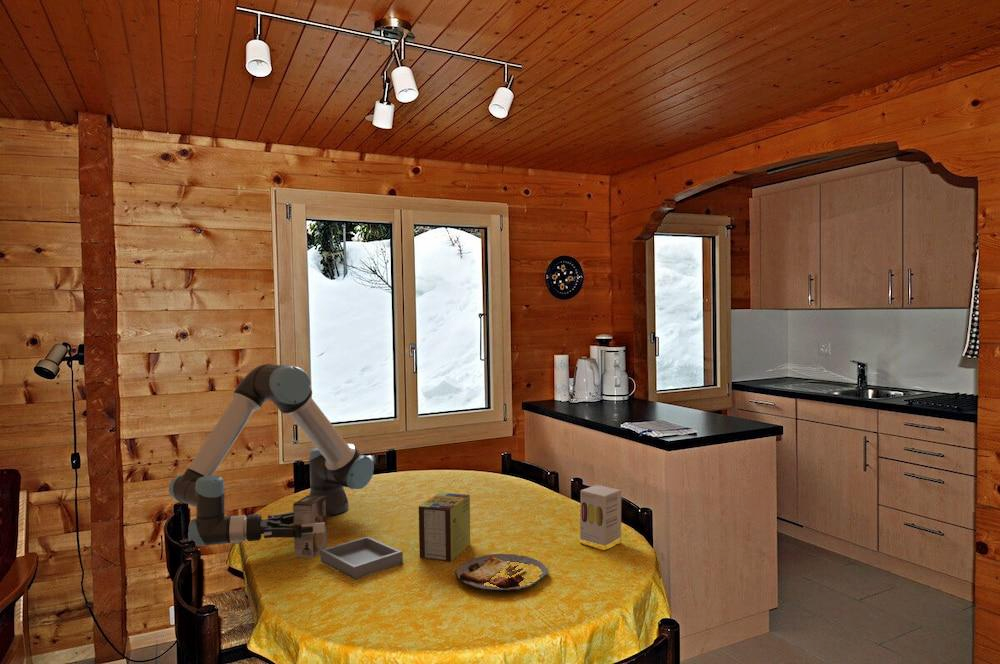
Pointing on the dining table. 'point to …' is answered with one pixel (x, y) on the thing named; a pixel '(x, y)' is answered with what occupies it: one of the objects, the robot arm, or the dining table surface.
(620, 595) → the dining table surface
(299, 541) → the coffee box
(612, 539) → the supplement box
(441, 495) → the protein box
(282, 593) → the dining table surface
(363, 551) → the tray
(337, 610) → the dining table surface
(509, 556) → the food plate
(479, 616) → the dining table surface
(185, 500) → the robot arm
